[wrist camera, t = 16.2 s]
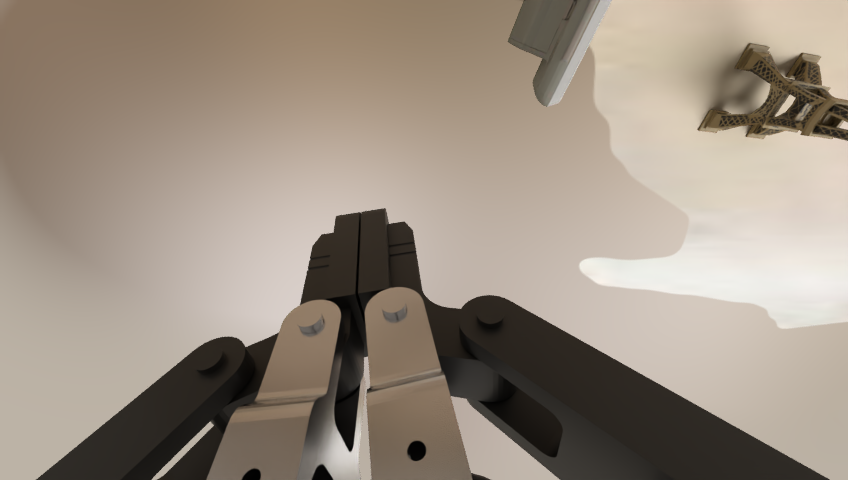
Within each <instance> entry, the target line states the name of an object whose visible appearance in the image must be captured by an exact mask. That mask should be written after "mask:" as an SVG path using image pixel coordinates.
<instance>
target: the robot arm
mask: <svg viewBox="0 0 848 480" xmlns="http://www.w3.org/2000/svg"><path fill="white" fill-rule="evenodd" d="M367 356H368V360H369V371H370V372H369V373H370V388H369V389H367V396H366V398H367V415H368V431H369V446H370V460H371V476H372V480H490V479H488V478H486V477H483V476H480V475H476V474H473V473H471V471H470V468H469V464H468V460H467V456H466V453H465V449H464V445H463V442H462V438H461V434H460V430H459V426H458V423H457V419H456V415H455V412H454V408H453V404H452V400H451V396H454V397H460V398H466V399H467V400H468V402H469V403H470V405H471V406H472V407H473V408H474V409H476V410H477V411H478V412H479V413H481V414H482V415H483V416H484V417H485V418H487V419H488V420H489V421H490V422H492V423H493V424H494V425H495V426H496V427H497V428H499V429H500V430H501V431H502V432H503V433H505V434H506V435H507V436H508V437H509V438H511V439H512V440H513V441H514V442H515V443H517V444H518V445H519V446H520V447H521V448H523V449H524V450H525V451H526V452H528V453H529V454H530V455H531V456H532V457H534V458H535V459H536V460H537V461H538V462H540V463H541V464H542V465H543V466H544V467H546V468H547V469H548V470H549V471H550V472H552V473H553V474H554V475H555V476H556V477H558V478H559V479H560V480H829V479H828V478H826V477H824V476H822V475H820V474H819V473H817V472H815V471H813V470H812V469H810V468H808V467H806V466H804V465H802V464H801V463H799V462H797V461H795V460H793V459H792V458H790V457H788V456H787V455H785V454H783V453H781V452H779V451H778V450H775V449H774V448H772V447H770V446H769V445H767V444H765V443H763V442H761V441H760V440H758V439H756V438H754V437H752V436H751V435H749V434H747V433H745V432H744V431H742V430H740V429H738V428H736V427H735V426H733V425H731V424H729V423H727V422H726V421H724V420H722V419H720V418H719V417H717V416H715V415H713V414H711V413H709V412H708V411H706V410H704V409H702V408H701V407H699V406H697V405H695V404H693V403H692V402H690V401H688V400H686V399H684V398H683V397H681V396H679V395H677V394H675V393H674V392H672V391H670V390H668V389H667V388H665V387H663V386H661V385H660V384H658V383H656V382H654V381H652V380H650V379H649V378H647V377H645V376H643V375H642V374H640V373H638V372H636V371H634V370H633V369H631V368H629V367H627V366H625V365H624V364H622V363H620V362H618V361H617V360H615V359H613V358H611V357H609V356H608V355H606V354H604V353H602V352H600V351H598V350H597V349H595V348H593V347H592V346H590V345H588V344H586V343H584V342H583V341H581V340H579V339H577V338H575V337H574V336H572V335H570V334H568V333H566V332H565V331H563V330H561V329H559V328H558V327H556V326H554V325H552V324H550V323H549V322H547V321H545V320H543V319H542V318H540V317H538V316H536V315H534V314H533V313H531V312H529V311H527V310H525V309H523V308H522V307H520V306H518V305H516V304H515V303H513V302H511V301H509V300H507V299H505V298H502V297H499V296H492V295H487V296H480V297H476V298H474V299H472V300H470V301H468V302H467V303H466V304H465V305H464V306H463V307H462V309H456V308H447V307H442V306H439V305H437V304H434V303H433V302H431V301H430V300H429V299H428V298H427V297H426V296H425V295H424V293H423V291H422V286H421V280H420V274H419V267H418V261H417V255H416V248H415V243H414V235H413V230H412V229H411V228H410V227H409V226H408V225H407V224H406V223H405V222H398V223H392V224H389V222H388V217H387V212H386V209H385V208H384V209H377V210H371V211H365V212H362V213H360V212H359V213H353V214H346V215H339V216H336V219H335V226H334V233H329V234H322V235H321V236H320V238H319V239H318V240H317V241H316V242H315V244H314V245H313V247H312V252H311V256H310V261H309V266H308V271H307V276H306V280H305V284H304V289H303V294H302V298H301V303H300V306H298V307H297V308H295V309H294V310H292V311H291V312H290V313H289V314H288V315H287V316H286V318H285V319H284V321H283V323H282V325H281V329H280V331H279V333H277V334H275V335H273V336H271V337H269V338H267V339H264V340H262V341H260V342H257V343H255V344H252V345H250V346H248V347H245V346H244V344H243V343H242V341H240V340H239V339H237V338H234V337H220V338H216V339H213V340H211V341H209V342H207V343H204V344H203V345H201V346H200V347H198V348H197V349H195V350H194V351H193V352H192V353H190V354H189V355H188V356H187V357H185V358H184V359H183V360H182V361H181V362H179V363H178V364H177V365H176V366H174V367H173V368H172V369H171V370H170V371H168V372H167V373H166V374H165V375H164V376H162V377H161V378H160V379H159V380H157V381H156V382H155V383H154V384H152V385H151V386H150V387H149V388H148V389H146V390H145V391H144V392H143V393H141V394H140V395H139V396H138V397H137V398H135V399H134V400H133V401H132V402H130V403H129V404H128V405H127V406H126V407H124V408H123V409H122V410H121V411H119V412H118V413H117V414H116V415H115V416H113V417H112V418H111V419H110V420H109V421H107V422H106V423H105V424H104V425H102V426H101V427H100V428H99V429H97V430H96V431H95V432H94V433H93V434H91V435H90V436H89V437H88V438H87V439H85V440H84V441H83V442H82V443H80V444H79V445H78V446H77V447H76V448H74V449H73V450H72V451H71V452H69V453H68V454H67V455H66V456H65V457H63V458H62V459H61V460H60V461H58V462H57V463H56V464H55V465H53V466H52V467H51V468H50V469H49V470H47V471H46V472H45V473H44V474H43V475H41V476H40V477H39V478H38V479H36V480H152V478H153V477H154V476H155V475H156V474H157V473H158V472H159V471H160V470H161V469H162V468H163V467H164V466H165V465H166V464H167V463H168V462H169V461H170V460H171V459H172V458H173V457H174V456H175V455H176V454H177V453H178V452H179V451H180V450H181V449H182V448H183V447H184V446H185V445H186V444H187V443H188V442H189V441H190V440H191V439H192V438H193V437H194V436H195V435H196V434H197V433H199V432H200V430H202V429H203V428H204V427H205V426H206V425H207V424H208V423H209V422H210V421H211V422H212V424H213V425H214V426H213V427H212V428H211V429H210V430H209V431H208V432H207V433H206V434H205V435H204V436H203V437H202V438H201V439H200V440H199V441H198V442H197V443H196V444H195V445H194V446H193V447H192V448H191V449H190V450H189V451H188V452H187V453H186V454H185V455H184V456H183V457H182V458H181V459H180V460H179V461H178V462H177V463H176V464H175V465H174V466H173V467H172V468H171V469H170V470H169V471H168V472H167V473H166V474H165V475H164V476H162V477H161V478H159V479H157V480H361V477H360V470H359V447H360V436H361V426H362V416H363V405H364V394H365V378H364V375H363V373H364V357H367Z"/></svg>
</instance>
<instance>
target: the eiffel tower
mask: <svg viewBox="0 0 848 480" xmlns="http://www.w3.org/2000/svg"><path fill="white" fill-rule="evenodd" d="M769 48H770V47H766V46H760V45H755V44H750V43H749V45H748V46H747V48H746V50H745V51H744V53H743V55H742V57H741V58H740V60H739V62H738V63H737V65H736V67H735V68H736V69H741V70H746V71H751V72H753V73H754V74H756V75H758V76H759V77H761V78H762V79H764V80H765V81H767V82H768V83H770V84H771V86H770V91H769V95H768V98H767V100H766V101H765V103H764V104H763V105H762V106H761V107H760V108H759V109H757V110H756V111H755V112H753V113H752V114H732V115H730V114H731V113H728V112H723V111H716V110H710V111H709V112H708V114H707V116H706V117H705V119H704V121H703V123H702V124H701V126H700V128H699V129H698V130H699V131H705V132H713V133H717V131H718V130H719V131H720V130H726V129H730V128H734V127H738V126H746V125H753V126H752V128H751V129H750V131H749V132H748V134H747V135H746V137H751V138H759V139H764V137H765V136H766V135H772V134H776V133H779V132H783V131H791V132H798V131H799V130H800V131H802V133H801V135H805V136H814V137H821V138H828V139H833V137H834V138H838V139H843V140H847V141H848V130H846V129H841V128H839V127H840V126H841V124H842V123H843V122H844V121H846V122H848V100H844V99H838V98H835V97H833V96H831V95H830V94H829V92H828V90H829V89H830V87H825V86H822V81H821V74H820V67H819V65H818V64H817V62H818V61H819V59H820V58H821V57H820V56H814V55H809V54H804V53H802V54H801V55H800V57H799V58H798V59H797V61H796V62H795V64H794V65H793V67H792V68H791V70H790V71H789V73H788V74H787V76H786V77H788V78H793V79H795V80H793V79H788V78H784V77H783V76H782V75H781V74H780V72H779V70H778V68H777V66H776V64H775V62H774V60H773V58H772V56H771V54H769V52H768V49H769ZM790 94H791V95H792V96H794V97H796V99H795V100H794V102H793V104H792V105H791V106H790V108H789V109H788V110H787V111H786V112H785V113H783V114H781V115H779V116H777V117H775V115H776V114H777V112H778V111H779V109H780V108H781V106H782V105H783V103H784V102H785V101H786V99H787V98H788V96H789V95H790Z"/></svg>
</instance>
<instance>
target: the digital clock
mask: <svg viewBox="0 0 848 480" xmlns="http://www.w3.org/2000/svg"><path fill="white" fill-rule="evenodd" d="M611 1H612V0H524V2H523V4H522V7H521V9H520V12H519V14H518V17H517V19H516V22H515V24H514V27H513V29H512V32H511V34H510V37H509V40H508V42H509V43H510V44H512V45H514V46H516V47H518V48H519V49H522V50H524V51H526V52H529V53H532V54H534V55H536V56H539V57H541V58H543V59H542V61H541V64H540V66H539V68H538V70H537V72H536V75H535V77H534V80H533V87H534V92H535V95H536V97H537V99H538V101H539V102H540V103H541V104H542V105H544V106H546V107H547V106H551V105H554V104H557V103H559V102H560V101H561V99H562V97H563V95H564V92H565V91H566V89H567V87H568V85H569V83H570V81H571V80H572V78H573V75H574V74H575V72H576V70H577V68H578V66H579V64H580V62H581V60H582V58H583V56H584V54H585V52H586V50H587V48H588V46H589V44H590V42H591V40H592V38H593V36H594V34H595V32H596V30H597V28H598V26H599V24H600V23H601V21H602V19H603V17H604V15H605V13H606V11H607V9H608V7H609V5H610V3H611Z"/></svg>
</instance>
